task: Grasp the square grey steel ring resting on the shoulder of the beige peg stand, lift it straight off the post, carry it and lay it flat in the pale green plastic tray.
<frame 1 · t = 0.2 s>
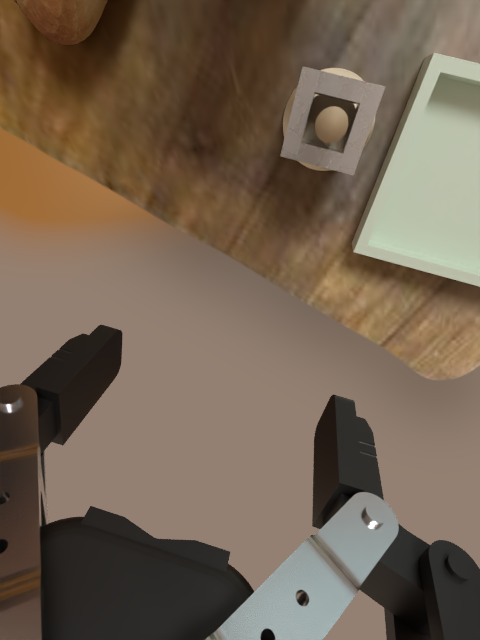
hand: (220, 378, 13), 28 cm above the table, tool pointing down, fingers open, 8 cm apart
beige peg stand: (327, 122, 32), on the table
tray: (469, 184, 33), on the table
ring: (328, 123, 29), point 4 cm above the table, touching beige peg stand
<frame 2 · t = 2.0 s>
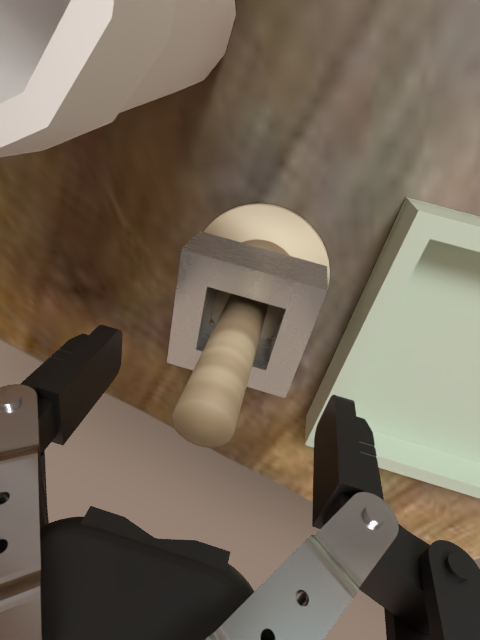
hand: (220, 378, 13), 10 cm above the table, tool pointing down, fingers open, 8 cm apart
foam cup: (167, 6, 16), on the table
beige peg stand: (259, 272, 21), on the table
tray: (476, 365, 21), on the table
ring: (248, 304, 18), point 4 cm above the table, touching beige peg stand
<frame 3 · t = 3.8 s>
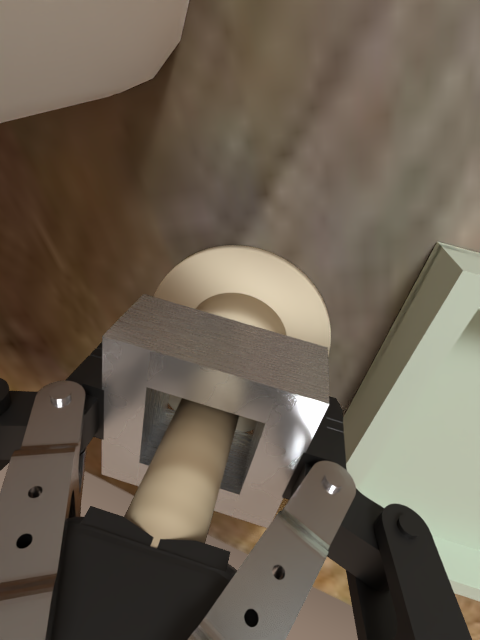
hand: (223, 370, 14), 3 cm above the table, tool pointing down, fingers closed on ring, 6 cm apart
beige peg stand: (239, 330, 16), on the table
ring: (217, 389, 13), point 4 cm above the table, touching gripper, beige peg stand
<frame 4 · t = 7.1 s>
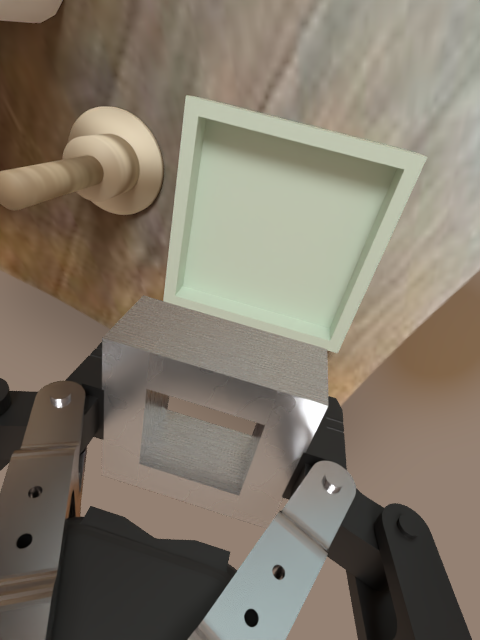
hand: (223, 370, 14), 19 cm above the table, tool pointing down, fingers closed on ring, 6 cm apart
beige peg stand: (117, 163, 29), on the table
tray: (276, 232, 29), on the table
ring: (217, 390, 13), point 20 cm above the table, touching gripper
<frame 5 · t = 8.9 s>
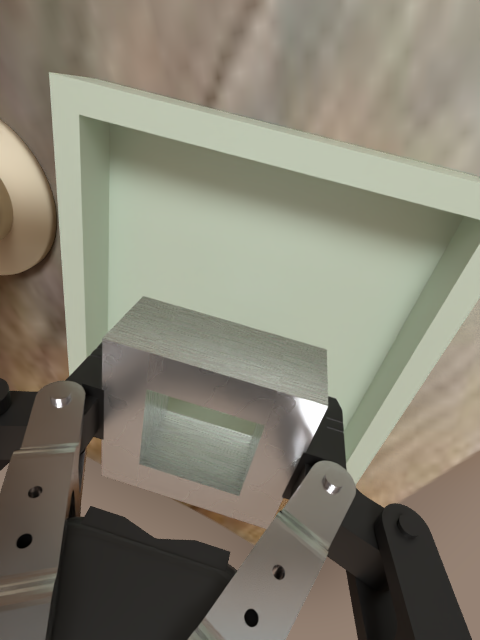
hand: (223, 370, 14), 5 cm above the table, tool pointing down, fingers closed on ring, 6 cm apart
tray: (246, 307, 18), on the table
ring: (217, 390, 13), point 6 cm above the table, touching gripper
when the fingers open (2 cm above the table, at t = 10.4 s): ring drops 2 cm, resting on tray.
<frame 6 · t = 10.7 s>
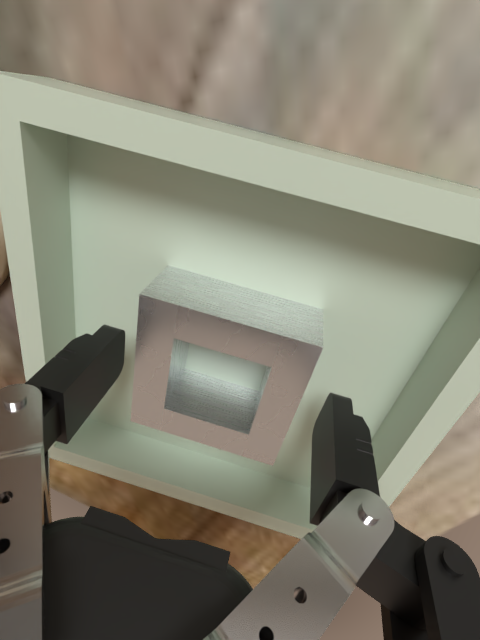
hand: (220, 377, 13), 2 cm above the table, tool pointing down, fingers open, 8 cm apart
tray: (234, 342, 15), on the table
ring: (228, 349, 15), point 1 cm above the table, touching tray
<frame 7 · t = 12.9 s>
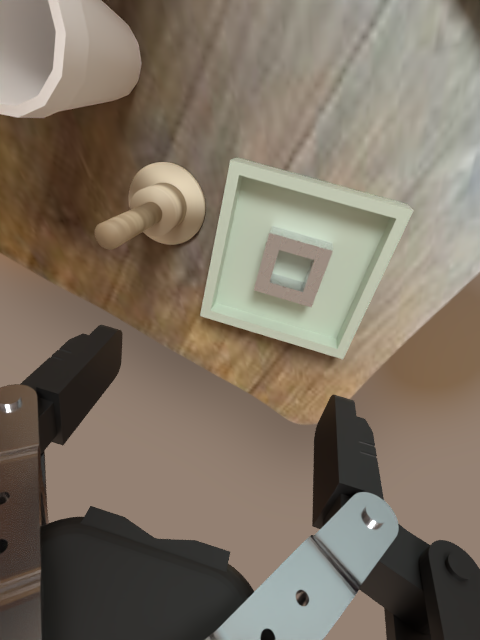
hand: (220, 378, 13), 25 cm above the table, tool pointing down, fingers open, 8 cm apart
foam cup: (108, 58, 31), on the table
beige peg stand: (168, 204, 36), on the table
tray: (294, 260, 37), on the table
ring: (293, 262, 36), point 1 cm above the table, touching tray
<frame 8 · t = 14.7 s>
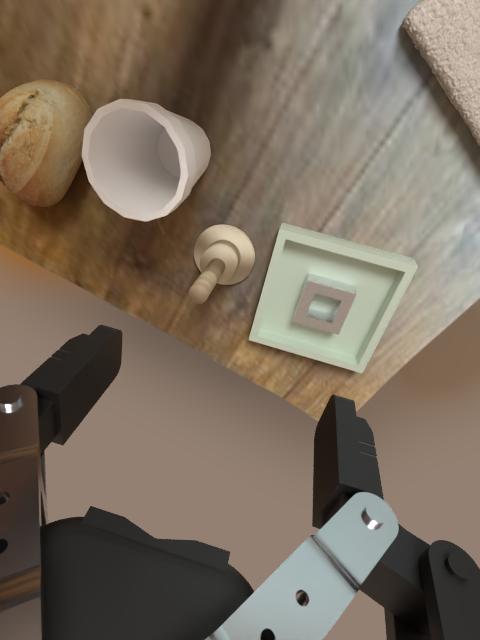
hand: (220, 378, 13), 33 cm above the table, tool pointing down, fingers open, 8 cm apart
foam cup: (184, 150, 41), on the table
bread roll: (59, 145, 44), on the table
beige peg stand: (224, 254, 46), on the table
tray: (324, 297, 47), on the table
ring: (323, 299, 46), point 1 cm above the table, touching tray
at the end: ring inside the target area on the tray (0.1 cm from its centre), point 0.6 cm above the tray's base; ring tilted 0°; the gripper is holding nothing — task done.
